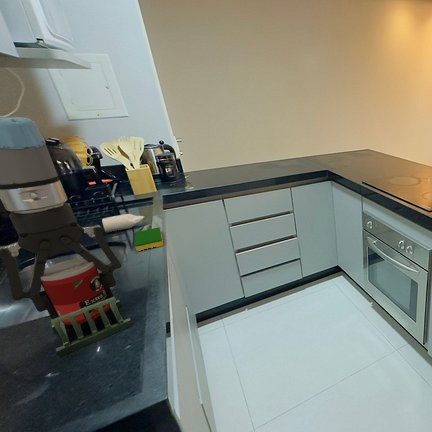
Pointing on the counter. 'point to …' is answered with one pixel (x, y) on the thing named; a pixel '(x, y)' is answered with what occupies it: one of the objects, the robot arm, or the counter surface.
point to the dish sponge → (148, 239)
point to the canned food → (74, 288)
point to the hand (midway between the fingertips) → (85, 310)
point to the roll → (120, 222)
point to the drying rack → (95, 334)
